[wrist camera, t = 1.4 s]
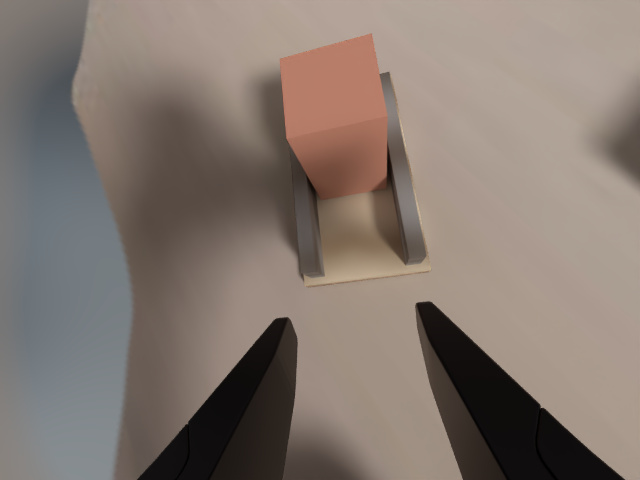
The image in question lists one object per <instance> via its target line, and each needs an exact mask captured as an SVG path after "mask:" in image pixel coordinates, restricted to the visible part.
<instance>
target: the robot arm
mask: <svg viewBox="0 0 640 480" xmlns="http://www.w3.org/2000/svg"><path fill="white" fill-rule="evenodd" d="M415 308H416V320H417V329H418V334H419V338H420V343H421V347H422V352H423V356H424V360H425V365H426V369H427V374H428V378H429V382H430V386H431V389H432V392H433V395H434V398H435V401H436V404H437V407H438V409H439V412H440V415H441V418H442V421H443V424H444V427H445V429H446V432H447V435H448V438H449V441H450V444H451V447H452V449H453V452H454V455H455V458H456V461H457V464H458V466H459V469H460V472H461V475H462V478H463V480H625V479H624V478H622V477H621V476H620V475H619V474H618V473H616V472H615V471H614V470H613V469H612V468H610V467H609V466H608V465H607V464H606V463H605V462H603V461H602V460H601V459H600V458H599V457H597V456H596V455H595V454H594V453H593V452H591V451H590V450H589V449H588V448H587V447H586V446H585V445H584V444H583V443H581V442H580V441H579V440H578V439H577V438H576V437H575V436H574V435H573V434H571V433H570V432H569V431H568V430H567V429H566V428H565V427H564V426H563V425H562V424H560V423H559V422H558V421H557V420H556V419H555V418H554V417H553V416H552V415H551V414H550V413H549V412H548V411H547V410H546V409H545V408H541V405H540V404H539V403H538V402H537V401H536V400H535V399H534V398H533V397H532V396H531V395H530V394H529V393H528V392H526V391H525V390H524V389H523V388H522V387H521V386H520V385H519V384H518V383H517V382H516V381H515V380H514V379H513V378H512V377H511V376H510V375H508V374H507V373H506V372H505V371H504V370H503V369H502V368H501V367H500V366H499V365H498V364H497V363H496V362H495V361H494V360H493V359H492V358H490V357H489V356H488V355H487V354H486V353H485V352H484V351H483V350H482V349H481V348H480V347H479V346H478V345H477V344H476V343H475V342H473V341H472V340H471V339H470V338H469V337H468V336H467V335H466V334H465V333H464V332H463V331H462V330H461V329H460V328H459V327H458V326H457V325H455V324H454V323H453V322H452V321H451V320H450V319H449V318H448V317H447V316H446V315H445V314H444V313H443V312H442V311H441V310H440V309H438V308H437V307H436V306H435V305H434V304H433V303H432V302H430V301H428V302H419V303H416V305H415ZM297 346H298V342H297V336H296V333H295V330H294V328H293V325H292V322H291V320H290V319H289V318H288V317H284V318H277V319H275V320H274V321H273V322H272V323H271V324H270V325H269V327H268V328H267V329H266V330H265V331H264V333H263V334H262V335H261V336H260V337H259V338H258V340H257V341H256V342H255V343H254V344H253V346H252V347H251V348H250V349H249V350H248V352H247V353H246V354H245V355H244V356H243V357H242V359H241V360H240V361H239V362H238V363H237V365H236V366H235V367H234V368H233V369H232V370H231V372H230V373H229V374H228V375H227V376H226V378H225V379H224V380H223V381H222V382H221V384H220V385H219V386H218V387H217V388H216V389H215V391H214V392H213V393H212V394H211V395H210V397H209V398H208V399H207V400H206V401H205V403H204V404H203V405H202V406H201V407H200V408H199V410H198V411H197V412H196V413H195V414H194V416H193V417H192V418H191V419H190V420H189V422H188V424H186V425H185V426H184V427H183V428H182V430H181V431H180V432H179V433H178V434H177V436H176V437H175V438H174V439H173V440H172V441H171V443H170V444H169V445H168V446H167V447H166V448H165V449H164V451H163V452H162V453H161V454H160V455H159V456H158V457H157V459H156V460H155V461H154V462H153V463H152V464H151V465H150V466H149V467H148V468H147V469H146V470H145V471H144V473H143V474H142V475H141V476H140V477H139V478H138V479H137V480H282V478H283V471H284V465H285V458H286V452H287V445H288V439H289V432H290V426H291V420H292V413H293V407H294V399H295V389H296V368H297Z"/></svg>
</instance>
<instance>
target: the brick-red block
mask: <svg viewBox="0 0 640 480" xmlns="http://www.w3.org/2000/svg"><path fill="white" fill-rule="evenodd" d="M280 69H281V80H282V92H283V104H284V115H285V127H286V139H287V140H288V142H289V144H290V146H291V148H292V149H293V151H294V153H295V155H296V156H297V158H298V160H299V162H300V163H301V165H302V167H303V169H304V171H305V172H306V174H307V176H308V178H309V179H310V181H311V183H312V185H313V187H314V188H315V190H316V192H317V194H318V195H319V197H320V199H321V200H325V199H331V198H336V197H342V196H347V195H353V194H358V193H364V192H369V191H375V190H380V189H386V184H387V122H388V115H387V110H386V105H385V100H384V95H383V90H382V84H381V79H380V74H379V69H378V64H377V58H376V53H375V48H374V43H373V38H372V33H371V34H368V35H364V36H361V37H357V38H353V39H350V40H346V41H343V42H339V43H335V44H332V45H328V46H324V47H321V48H317V49H314V50H310V51H306V52H303V53H299V54H296V55H292V56H288V57H285V58H281V59H280Z"/></svg>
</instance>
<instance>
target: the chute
mask: <svg viewBox="0 0 640 480" xmlns="http://www.w3.org/2000/svg"><path fill="white" fill-rule="evenodd" d="M380 79H381V84H382V90H383V95H384V100H385V105H386V110H387V115H388V122H387V184H386V189H380V190H375V191H369V192H364V193H358V194H353V195H347V196H342V197H336V198H331V199H325V200H321V199H320V197H319V195H318V194H317V192H316V190H315V188H314V187H313V185H312V183H311V181H310V179H309V178H308V176H307V174H306V172H305V171H304V169H303V167H302V165H301V163H300V162H299V160H298V158H297V156H296V155H295V153H294V151H293V149H292V148H291V146H290V156H291V168H292V179H293V190H294V202H295V213H296V224H297V236H298V247H299V259H300V270H301V274H304V285H305V286H306V287H316V286H323V285H331V284H339V283H347V282H354V281H362V280H370V279H378V278H385V277H393V276H401V275H409V274H416V273H424V272H429V271H430V270H431V266H430V261H429V256H428V251H427V246H426V242H425V237H424V232H423V227H422V222H421V217H420V212H419V208H418V203H417V198H416V193H415V188H414V183H413V178H412V173H411V169H410V164H409V159H408V154H407V149H406V144H405V139H404V135H403V130H402V125H401V120H400V115H399V110H398V105H397V100H396V96H395V91H394V86H393V81H392V76H391V74H390V73H389V72H386V73H382V74H380ZM289 145H290V144H289Z"/></svg>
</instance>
